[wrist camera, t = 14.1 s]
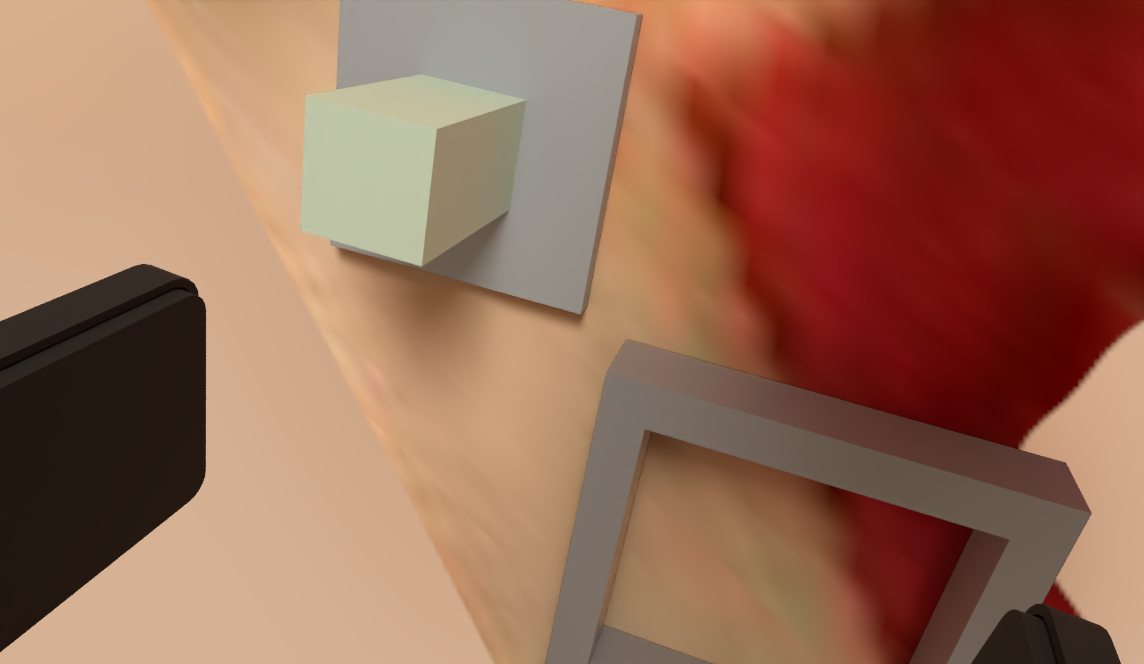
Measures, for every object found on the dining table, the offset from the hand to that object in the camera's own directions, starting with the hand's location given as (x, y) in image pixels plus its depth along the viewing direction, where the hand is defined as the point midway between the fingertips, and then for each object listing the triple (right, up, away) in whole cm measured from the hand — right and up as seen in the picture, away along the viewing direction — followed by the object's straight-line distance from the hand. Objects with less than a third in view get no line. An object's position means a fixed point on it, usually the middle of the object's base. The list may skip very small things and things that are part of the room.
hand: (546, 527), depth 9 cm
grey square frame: (+10, -9, +28) cm, 31 cm away
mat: (-4, +10, +24) cm, 27 cm away
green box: (-4, +10, +24) cm, 26 cm away
